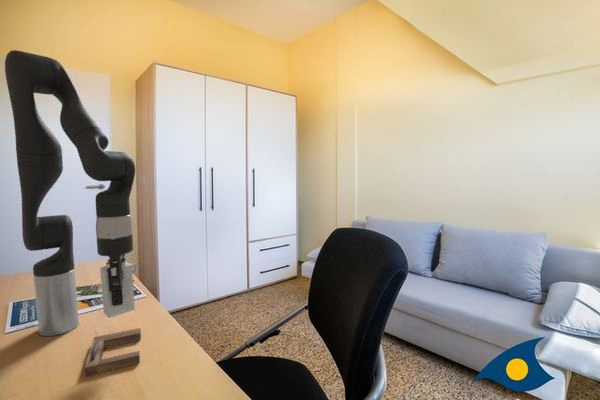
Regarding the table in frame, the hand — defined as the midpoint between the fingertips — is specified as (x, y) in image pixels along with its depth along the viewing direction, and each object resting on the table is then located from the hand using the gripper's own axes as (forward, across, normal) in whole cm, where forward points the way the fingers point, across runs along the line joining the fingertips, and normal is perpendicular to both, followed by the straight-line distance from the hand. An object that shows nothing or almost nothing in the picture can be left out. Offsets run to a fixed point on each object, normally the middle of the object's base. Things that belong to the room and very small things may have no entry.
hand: (118, 299), depth 77 cm
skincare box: (+3, 0, 0) cm, 3 cm away
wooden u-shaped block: (+14, -1, -1) cm, 14 cm away
